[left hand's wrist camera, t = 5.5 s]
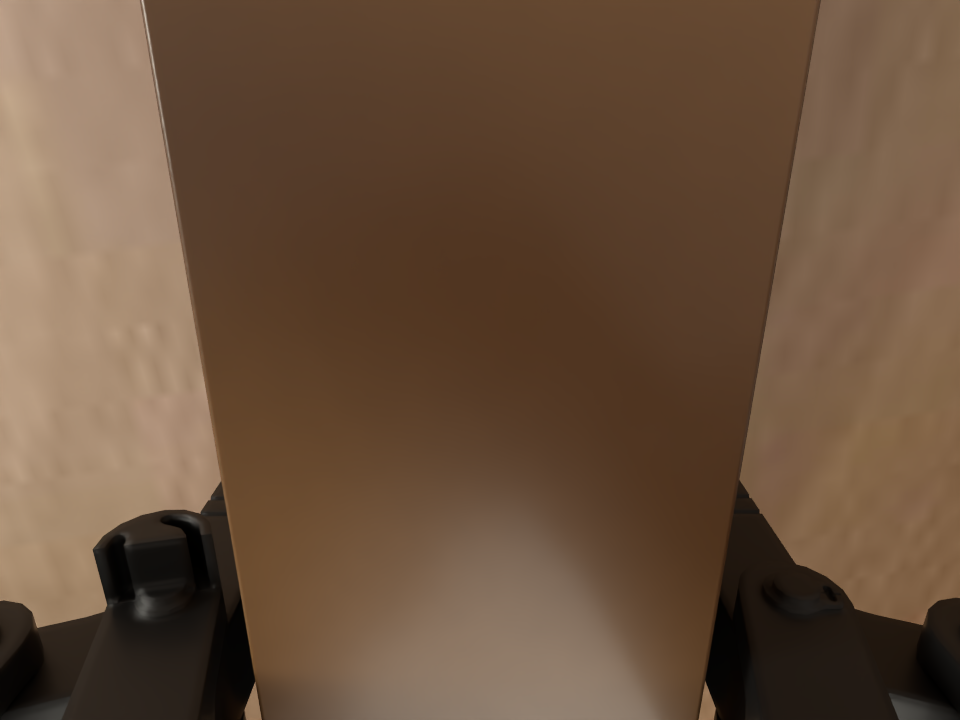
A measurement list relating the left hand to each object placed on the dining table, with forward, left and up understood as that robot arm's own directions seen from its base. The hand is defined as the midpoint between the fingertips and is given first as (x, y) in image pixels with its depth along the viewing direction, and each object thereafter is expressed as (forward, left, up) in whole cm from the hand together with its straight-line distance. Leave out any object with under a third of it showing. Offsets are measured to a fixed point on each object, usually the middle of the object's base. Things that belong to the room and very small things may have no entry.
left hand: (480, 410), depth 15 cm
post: (+27, +12, -1) cm, 30 cm away
